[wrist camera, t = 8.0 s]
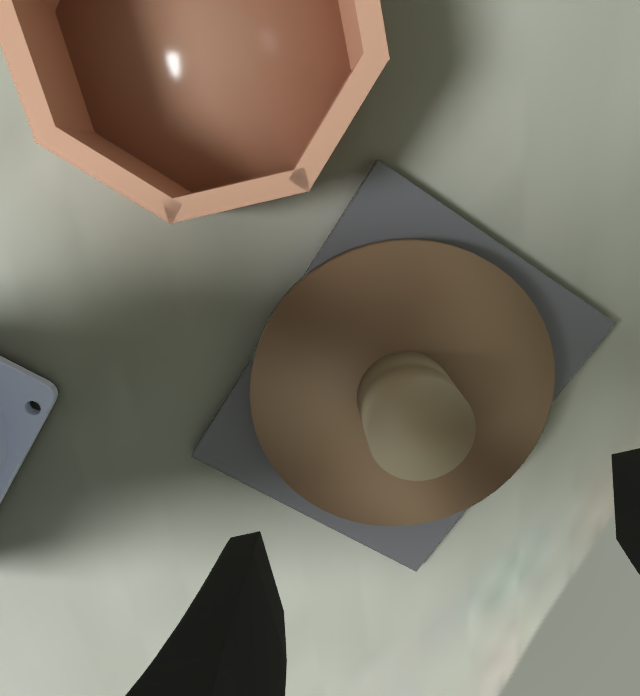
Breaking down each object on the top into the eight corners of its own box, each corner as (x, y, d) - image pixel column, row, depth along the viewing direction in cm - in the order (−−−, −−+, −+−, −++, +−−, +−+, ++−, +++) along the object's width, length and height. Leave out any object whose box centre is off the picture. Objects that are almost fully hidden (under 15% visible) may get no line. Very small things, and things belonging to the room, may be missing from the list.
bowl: (262, 256, 19) (257, 277, 16) (0, 95, 17) (-70, 79, 14) (421, -6, 17) (454, -47, 13) (140, -224, 15) (97, -335, 12)
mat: (414, 564, 23) (416, 571, 23) (193, 451, 21) (191, 456, 21) (609, 319, 20) (615, 322, 20) (376, 159, 18) (378, 160, 18)
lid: (434, 555, 23) (460, 625, 19) (198, 435, 20) (179, 491, 17) (604, 337, 20) (669, 373, 17) (354, 175, 18) (369, 178, 14)
